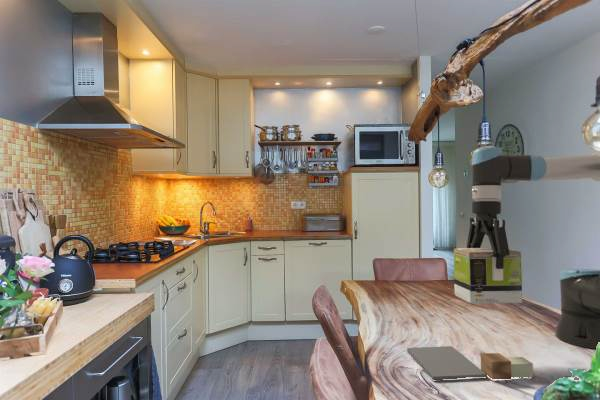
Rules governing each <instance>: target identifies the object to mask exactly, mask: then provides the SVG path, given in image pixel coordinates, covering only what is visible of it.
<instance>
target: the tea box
mask: <svg viewBox="0 0 600 400" xmlns="http://www.w3.org/2000/svg"><path fill="white" fill-rule="evenodd" d="M504 251H505V250H504ZM497 252H498V251H497ZM509 253H510V254H509V256H505V257H504V263H503V264H504V268H503V281H494V280H492V255H493V254H494V253H493V250H492V247H491V248H490V247H480V248H467V247H464V248H463V247H458V248H453V282H454V284H453V285H454V295H455V296H456V297H458V298H459V299H461V300H463V301H464V302H467V303H468V304H522V303H523V283H522V282H523V276H522V275H523V274H522V252H521V251H518V250H513V249H509Z"/></svg>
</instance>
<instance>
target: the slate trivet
mask: <svg viewBox="0 0 600 400" xmlns="http://www.w3.org/2000/svg"><path fill="white" fill-rule="evenodd" d="M406 351H407V353H408V355H409V356H410V355H411V356H412V357H413V358H412V357H411V356H410V357H411V358H412V359H413V360H414V359H415V360H414V361H415V363H416V364H417V365H418V364H419V365H420V366H421V367H422V368H423V369H422V368H421V367H420V366H419V365H418V366H419V367H420V368H421V369H422V370H423V371H424V373H427V374H428V375H429V376H430V377H431V378H432V379H433V380H443V379H457V378H466V377H487V375H486V373H484V372H483V371H482V370H481V368H480V367H478V366H477V365H476V364H475V363H473V362H472V361H471V360H470V359H468V358H467V357H466V356H465V355H463V354H462V353H461V352H459V350H457V349H456V348H455V347H454V346H452V345H449V346H448V345H447V346H443V345H442V346H428V347H427V346H426V347H425V346H422V347H407V349H406ZM427 374H426V375H427ZM428 375H427V376H428ZM429 376H428V377H429ZM430 377H429V378H430ZM431 378H430V379H431ZM432 379H431V380H432ZM433 380H432V381H433Z"/></svg>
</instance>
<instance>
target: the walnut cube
mask: <svg viewBox="0 0 600 400" xmlns="http://www.w3.org/2000/svg"><path fill="white" fill-rule="evenodd" d="M505 357H506V356H504V355H502V354H501V353H499V352H489V353H485V352H484V353H480V369H481V370H482V371H483V372H484V373H486V375H488V376H489V377H490V378H492V379H511V361H510V360H508V359H507V358H505Z"/></svg>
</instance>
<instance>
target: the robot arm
mask: <svg viewBox="0 0 600 400" xmlns="http://www.w3.org/2000/svg"><path fill="white" fill-rule="evenodd" d="M471 175H472V177H471V178H472V185H471V186H472V189H471V194H472V197H471V198H472V200H473V201H472V202H471V212H472V214H474V215H476V216H475V217H470V219H469V230H468V237H467V242H466V243H467V244H466V248H482V243H483V241H484V238H485V235H486V236H487V238H488V240H489V242H490V247H491V248H492V250H493V253H494V254H493V255H492V280H494V281H503V268H504V264H503V263H504V257H505V256H509V254H510V253H509V250H510V249H509V243H508V237H507V232H506V220H505V219H498V215H500V214H501V213H502V202H501V201H500V200H501V199H502V184H513V183H529V182H532V183H533V182H550V181H566V180H567V181H569V180H581V179H582V180H583V179H585V180H586V179H591V180H593V181H595V182H600V151H594V152H593V153H591V154H588V155H587V154H586V155H573V156H572V155H571V156H558V157H557V156H555V157H543V156H541V155H539V154H538V155H535V154H525V155H524V154H519V155H517V154H516V155H515V154H513V155H512V154H510V155H509V154H503V153H502V149H501V148H500V147H495V146H488V147H487V146H486V147H485V146H484V147H480V148H476V149H475V150H474V151H473V152H472V157H471ZM504 250H505V251H504ZM497 251H498V252H497ZM559 283H560V284H559V285H560V307H561V308H560V310H561V313H560V315H559V316H560V317H559V320H558V322H557V325H556V327H555V337H556V338H558V339H559V340H560V341H562V342H565V343H568V344H570V345H574V346H577V347H580V348H587V349H595V350H597V349H596V346H597V344H598V342H600V269H596V268H595V269H594V268H565V269H562V270H561V271H560V276H559Z"/></svg>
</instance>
